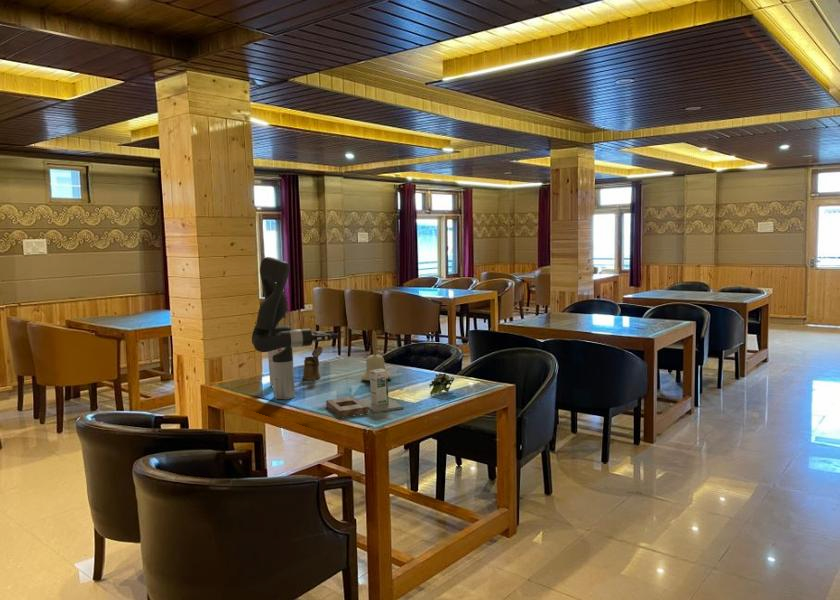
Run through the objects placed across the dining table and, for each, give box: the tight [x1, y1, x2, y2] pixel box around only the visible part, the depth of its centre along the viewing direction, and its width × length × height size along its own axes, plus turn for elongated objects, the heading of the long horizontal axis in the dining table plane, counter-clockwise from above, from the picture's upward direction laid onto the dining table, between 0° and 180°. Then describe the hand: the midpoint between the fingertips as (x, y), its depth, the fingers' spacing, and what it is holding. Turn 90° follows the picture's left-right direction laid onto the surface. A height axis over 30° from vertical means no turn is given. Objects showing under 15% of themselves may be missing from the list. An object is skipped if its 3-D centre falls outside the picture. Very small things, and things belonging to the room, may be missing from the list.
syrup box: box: [369, 368, 390, 405], centre depth 273 cm, size 6×6×14 cm
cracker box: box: [267, 348, 285, 386], centre depth 322 cm, size 14×6×21 cm, turn 174°
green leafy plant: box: [428, 373, 455, 396], centre depth 290 cm, size 11×11×12 cm
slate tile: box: [358, 397, 404, 413], centre depth 274 cm, size 13×20×1 cm, turn 24°
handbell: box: [360, 331, 392, 382], centre depth 323 cm, size 15×15×25 cm
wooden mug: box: [302, 346, 324, 381], centre depth 330 cm, size 9×14×18 cm, turn 43°
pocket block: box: [325, 396, 369, 419], centre depth 268 cm, size 12×20×3 cm, turn 24°
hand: (336, 334), depth 281 cm, fingers open, 8 cm apart
